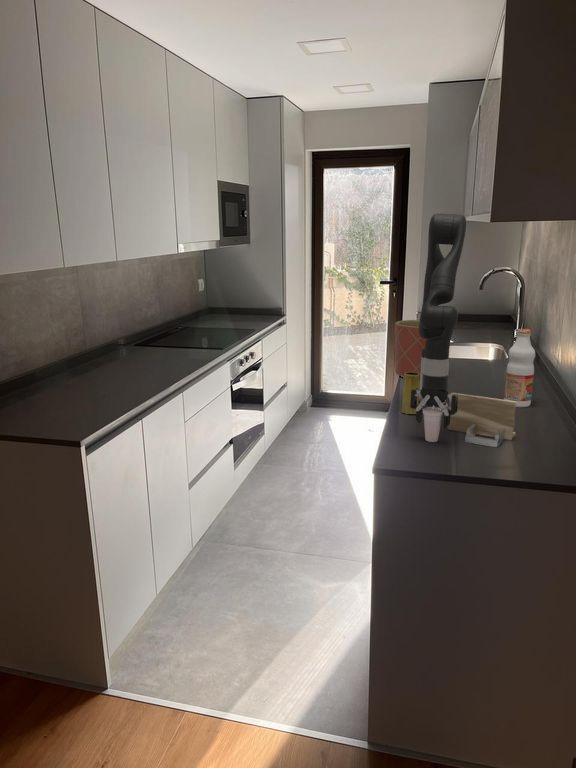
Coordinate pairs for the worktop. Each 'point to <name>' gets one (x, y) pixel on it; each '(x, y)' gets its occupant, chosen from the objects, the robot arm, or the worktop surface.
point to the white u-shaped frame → (474, 439)
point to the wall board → (484, 415)
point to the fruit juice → (520, 370)
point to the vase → (409, 391)
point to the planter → (408, 347)
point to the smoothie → (432, 422)
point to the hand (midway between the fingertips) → (432, 424)
